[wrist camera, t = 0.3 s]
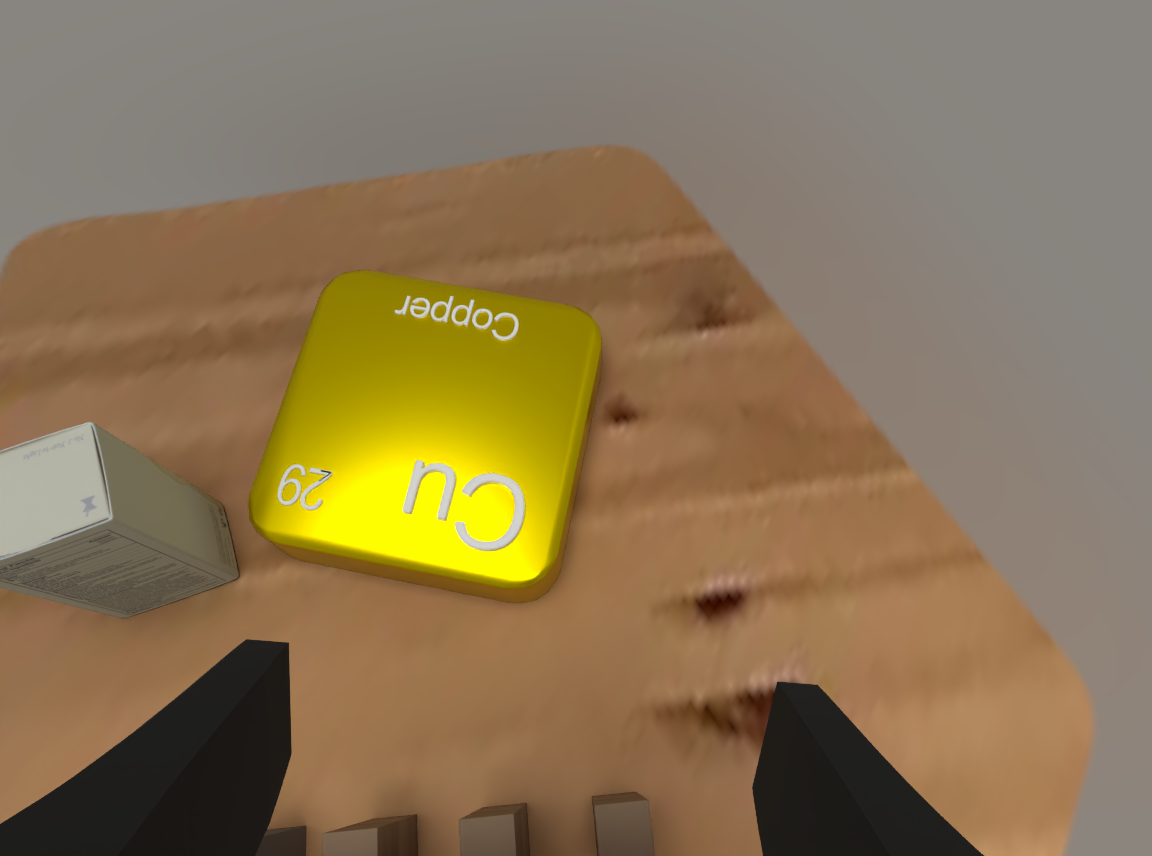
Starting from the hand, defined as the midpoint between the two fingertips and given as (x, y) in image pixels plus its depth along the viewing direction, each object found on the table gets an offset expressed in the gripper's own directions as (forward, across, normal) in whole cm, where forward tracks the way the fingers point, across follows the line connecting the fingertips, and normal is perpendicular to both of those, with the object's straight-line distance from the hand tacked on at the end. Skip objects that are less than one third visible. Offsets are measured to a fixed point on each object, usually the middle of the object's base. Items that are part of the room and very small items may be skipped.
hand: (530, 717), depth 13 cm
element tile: (+32, +5, +10) cm, 34 cm away
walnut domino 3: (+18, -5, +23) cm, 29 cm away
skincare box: (+28, +18, +16) cm, 36 cm away
